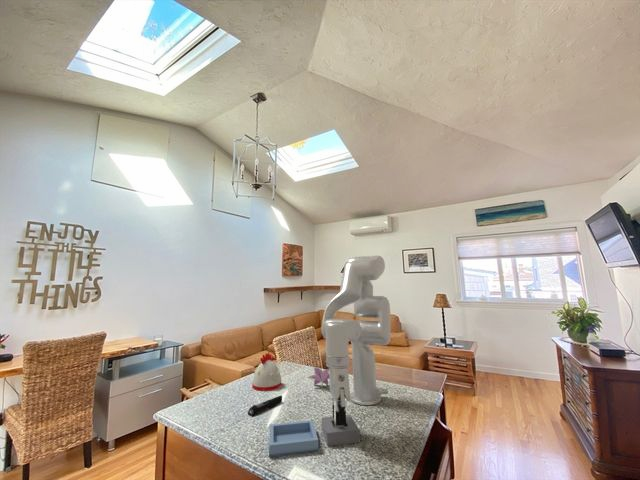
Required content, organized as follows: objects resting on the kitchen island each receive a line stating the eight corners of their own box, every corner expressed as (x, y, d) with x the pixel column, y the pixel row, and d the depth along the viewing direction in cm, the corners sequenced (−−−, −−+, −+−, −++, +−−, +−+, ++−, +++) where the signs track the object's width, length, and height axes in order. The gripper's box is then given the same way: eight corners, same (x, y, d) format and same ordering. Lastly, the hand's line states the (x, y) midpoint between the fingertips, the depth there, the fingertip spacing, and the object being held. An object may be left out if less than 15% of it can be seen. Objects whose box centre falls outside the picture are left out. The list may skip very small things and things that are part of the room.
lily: (340, 389, 128) (336, 368, 134) (329, 386, 119) (326, 363, 125) (317, 395, 131) (315, 373, 137) (305, 393, 123) (303, 370, 128)
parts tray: (312, 430, 90) (312, 420, 91) (318, 451, 78) (318, 439, 79) (269, 434, 88) (269, 424, 88) (268, 457, 76) (269, 445, 77)
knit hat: (246, 387, 131) (246, 354, 133) (267, 379, 142) (267, 348, 144) (266, 393, 123) (267, 358, 125) (287, 384, 134) (287, 351, 136)
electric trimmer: (284, 404, 112) (284, 396, 112) (252, 417, 100) (253, 408, 101) (278, 402, 114) (278, 393, 115) (246, 415, 103) (247, 405, 103)
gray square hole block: (350, 426, 92) (350, 414, 93) (359, 442, 83) (359, 429, 83) (321, 429, 91) (321, 417, 91) (327, 446, 81) (327, 433, 82)
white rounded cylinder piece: (343, 432, 88) (342, 398, 90) (345, 437, 85) (344, 402, 87) (333, 433, 88) (332, 399, 90) (335, 438, 85) (335, 403, 86)
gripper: (355, 367, 83) (358, 433, 80) (342, 354, 99) (344, 409, 96) (331, 368, 82) (333, 436, 79) (322, 355, 98) (323, 411, 95)
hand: (339, 420), depth 87 cm, fingers open, 3 cm apart
